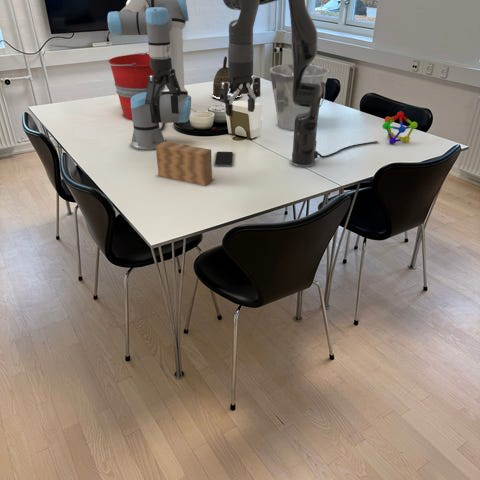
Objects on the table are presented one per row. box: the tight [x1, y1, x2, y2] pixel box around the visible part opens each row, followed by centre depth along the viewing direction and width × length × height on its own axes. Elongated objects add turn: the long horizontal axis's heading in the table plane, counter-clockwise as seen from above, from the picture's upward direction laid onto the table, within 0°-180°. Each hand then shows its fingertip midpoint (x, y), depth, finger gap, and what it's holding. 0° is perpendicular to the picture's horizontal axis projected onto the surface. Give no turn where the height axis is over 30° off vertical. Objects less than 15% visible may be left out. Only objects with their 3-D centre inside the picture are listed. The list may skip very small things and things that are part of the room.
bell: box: [212, 56, 240, 97], centre depth 278 cm, size 19×26×20 cm
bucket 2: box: [269, 63, 330, 131], centre depth 226 cm, size 30×30×28 cm
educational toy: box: [382, 110, 418, 145], centre depth 207 cm, size 16×13×15 cm
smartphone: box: [214, 151, 234, 167], centre depth 191 cm, size 7×1×15 cm
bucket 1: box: [105, 51, 165, 121], centre depth 241 cm, size 35×35×30 cm
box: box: [155, 140, 213, 186], centre depth 172 cm, size 21×6×12 cm, turn 65°
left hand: (165, 118), depth 165 cm, fingers open, 13 cm apart
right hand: (240, 113), depth 140 cm, fingers open, 8 cm apart
